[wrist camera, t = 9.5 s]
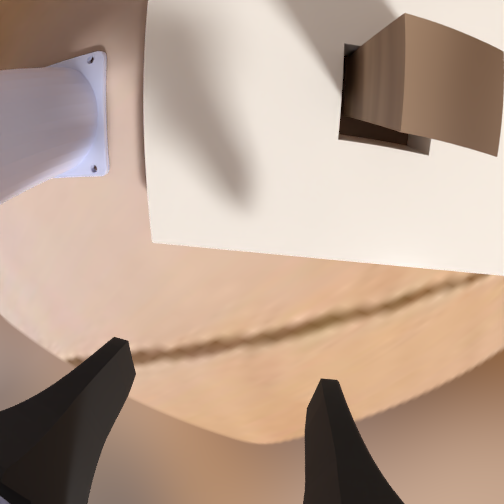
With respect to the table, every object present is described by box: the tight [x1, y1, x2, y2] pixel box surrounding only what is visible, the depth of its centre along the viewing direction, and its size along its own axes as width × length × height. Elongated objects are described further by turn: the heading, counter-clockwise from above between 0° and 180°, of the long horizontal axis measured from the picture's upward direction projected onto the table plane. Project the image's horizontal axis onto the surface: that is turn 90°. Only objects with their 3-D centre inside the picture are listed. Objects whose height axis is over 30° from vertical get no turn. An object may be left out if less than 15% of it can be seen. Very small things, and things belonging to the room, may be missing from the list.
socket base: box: [143, 0, 504, 276], centre depth 12 cm, size 22×16×3 cm
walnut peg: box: [343, 13, 504, 157], centre depth 9 cm, size 3×3×9 cm
